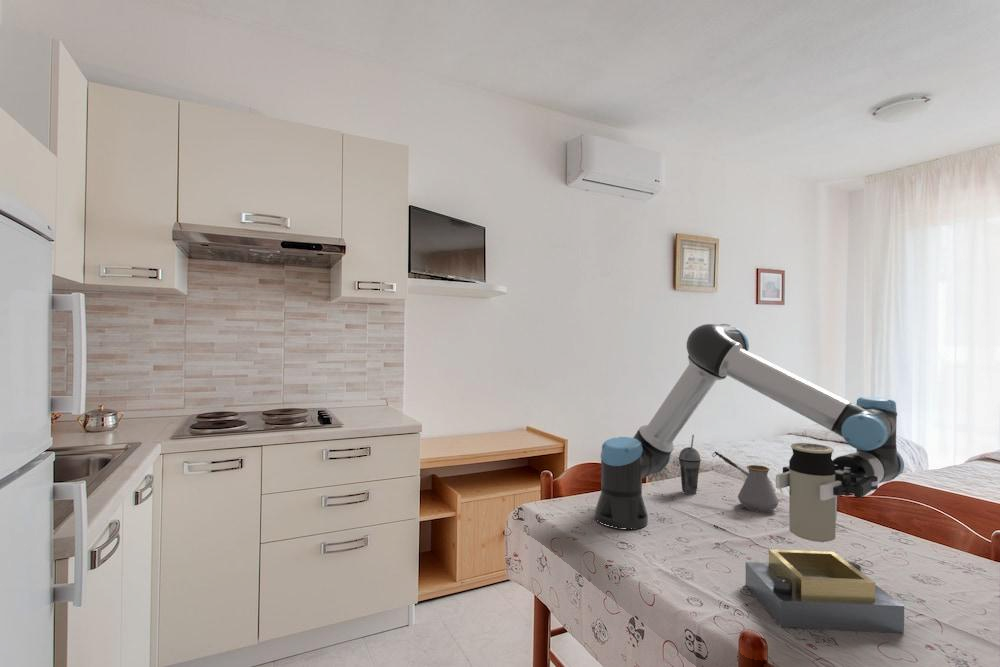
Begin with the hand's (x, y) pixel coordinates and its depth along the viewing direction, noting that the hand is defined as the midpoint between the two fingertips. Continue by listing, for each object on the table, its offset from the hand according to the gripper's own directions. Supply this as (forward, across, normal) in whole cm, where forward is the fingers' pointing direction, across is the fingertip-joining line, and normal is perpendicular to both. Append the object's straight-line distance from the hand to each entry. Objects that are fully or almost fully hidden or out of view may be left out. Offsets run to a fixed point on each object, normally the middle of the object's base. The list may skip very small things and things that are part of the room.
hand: (799, 487), depth 100 cm
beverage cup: (-43, +60, -25) cm, 78 cm away
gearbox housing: (-5, -1, -25) cm, 25 cm away
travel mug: (-5, 0, -11) cm, 12 cm away
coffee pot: (-49, +44, -25) cm, 70 cm away
